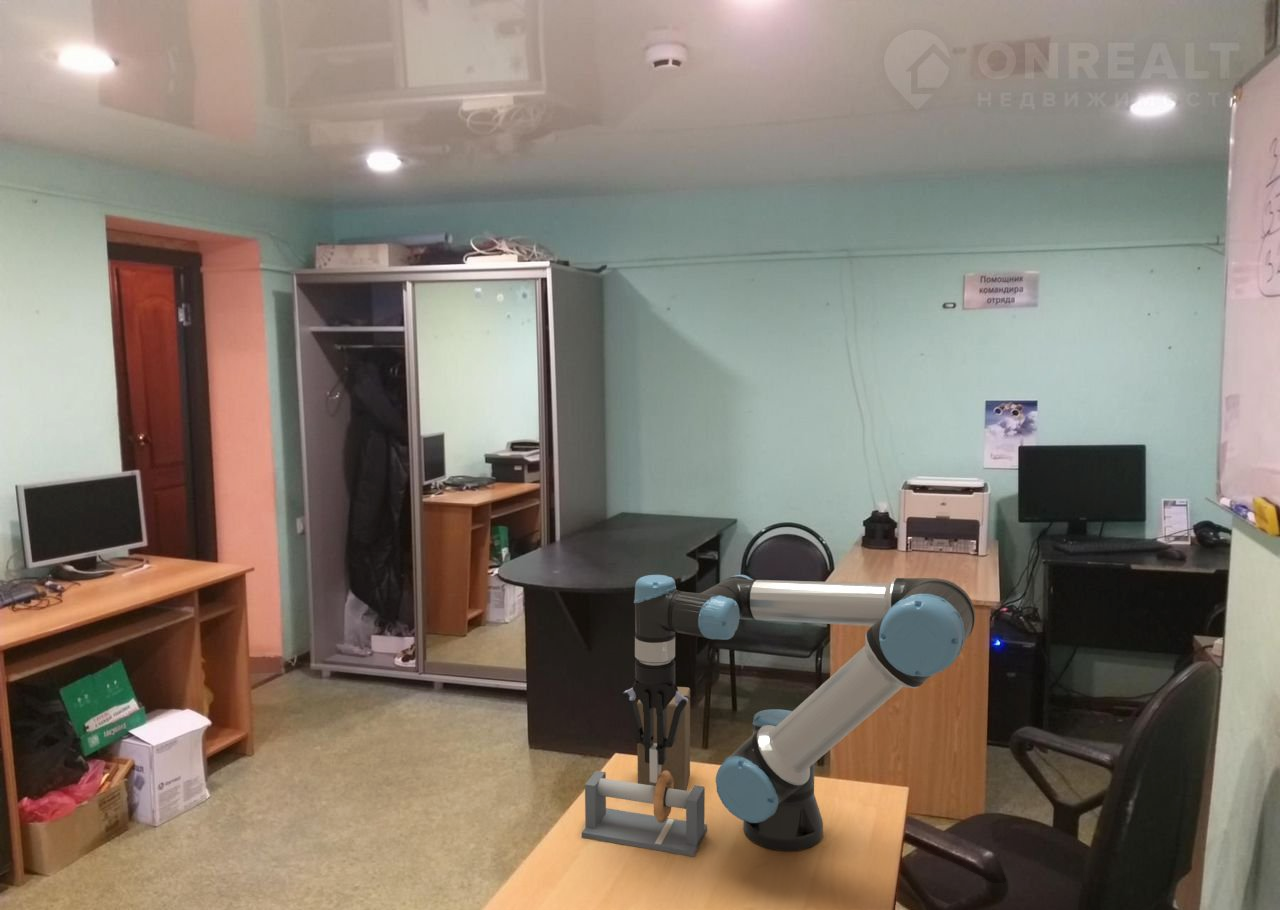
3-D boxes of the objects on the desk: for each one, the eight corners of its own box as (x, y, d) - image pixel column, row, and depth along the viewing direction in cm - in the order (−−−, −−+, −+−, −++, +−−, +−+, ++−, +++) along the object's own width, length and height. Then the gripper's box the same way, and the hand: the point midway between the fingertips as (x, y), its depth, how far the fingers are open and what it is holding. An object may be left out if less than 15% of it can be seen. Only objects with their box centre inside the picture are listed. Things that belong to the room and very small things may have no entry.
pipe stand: (706, 829, 173) (707, 781, 172) (693, 856, 164) (693, 806, 162) (600, 811, 180) (599, 765, 179) (581, 837, 170) (581, 788, 169)
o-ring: (674, 808, 174) (674, 764, 173) (661, 830, 166) (661, 785, 165) (665, 806, 175) (665, 763, 174) (652, 829, 166) (652, 784, 165)
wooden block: (637, 793, 187) (636, 701, 185) (644, 772, 197) (644, 684, 195) (684, 797, 186) (684, 704, 183) (690, 775, 195) (690, 686, 193)
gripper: (694, 655, 169) (693, 775, 171) (628, 649, 173) (629, 766, 175) (683, 669, 162) (683, 793, 164) (615, 661, 166) (616, 783, 168)
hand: (655, 779), depth 170 cm, fingers closed
